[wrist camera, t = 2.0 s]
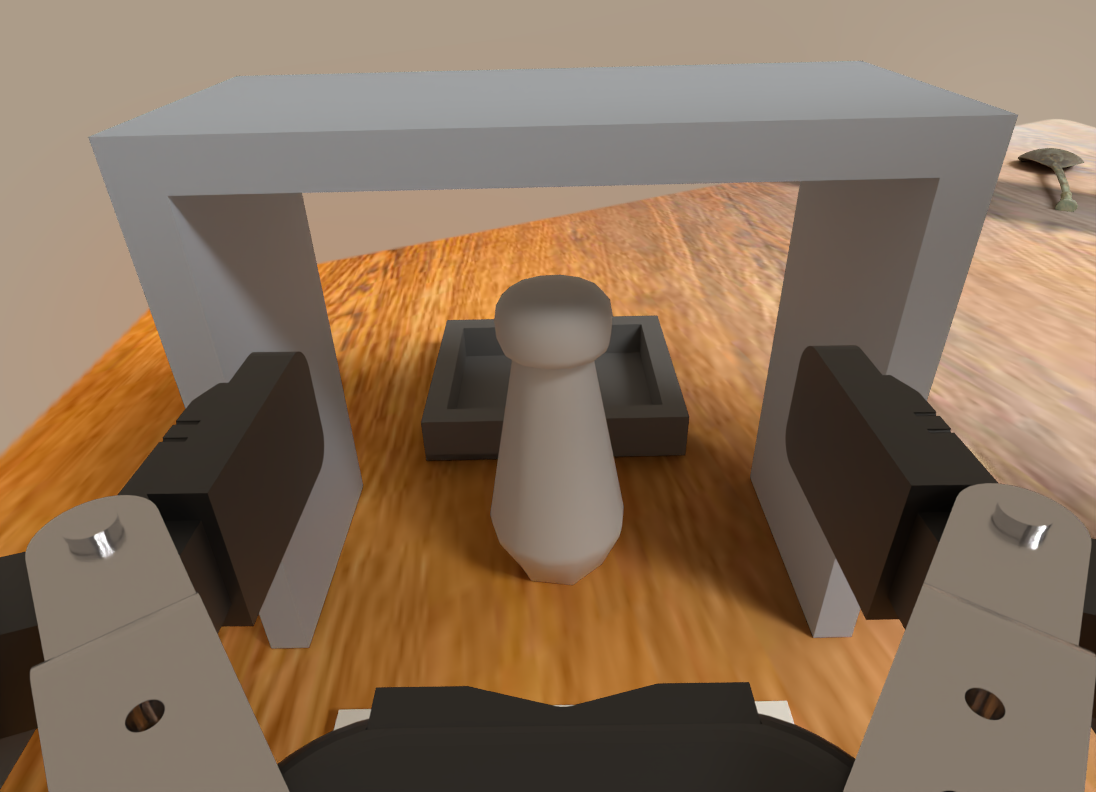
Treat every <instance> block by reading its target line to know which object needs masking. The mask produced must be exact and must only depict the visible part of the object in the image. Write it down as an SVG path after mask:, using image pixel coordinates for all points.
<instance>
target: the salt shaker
mask: <svg viewBox="0 0 1096 792" xmlns="http://www.w3.org/2000/svg"><path fill="white" fill-rule="evenodd" d="M612 317H613V315H612V309H611V303H610V299H609V298H608V297H607V296H606V294H605V293H604V292H603V291H602V290H601V289H600V288H599V287H598V286H597V285H596V284H594V283H592V282H590V281H587V280H585V279H582V278H579V277H573V276H565V275H546V276H537V277H533V278H529V279H524V280H521V281H520V282H518V283H516V284H514V285H513V286H511V287H509V288H508V289H507V290H506V291H505V292H504V293H503V294H502V295H501V297H500V299H499V301H498V303H497V304H496V310H495V318H494V324H495V332H496V338H497V340H498V342H499V344H500V346H501V348H502V350H503V352H504V354H505V356H506V357H508V358H510V359H511V360H512V364H511V371H510V378H509V385H508V392H507V400H506V407H505V414H504V421H503V428H502V435H501V442H500V449H499V456H498V463H497V470H496V477H495V484H494V491H493V498H492V505H491V512H490V516H491V519H492V523H493V526H494V528H495V531H496V534H497V537H498V540H499V543H500V544H501V545H502V546H503V548H504V549H505V550H506V551H507V552H508V553H509V554H510V555H511V556H512V557H513V558H514V559H515V561H516V562H517V563H518V564H519V565H520V566H521V567H522V568H523V570H524V571H525V572H526V574H527V575H528V577H529V578H530V579H531V581H538V582H548V583H557V584H566V585H574V584H575V583H576V582H578V581H579V580H581V579H582V578H583V577H585V576H586V575H587V574H589V573H590V572H592V571H593V570H594V569H596V568H597V567H598V566H600V565H601V564H602V563H603V562H604V560H605V558H606V557H607V555H608V554H609V552H610V550H611V549H612V547H613V546H614V544H615V543H616V541H617V539H618V538H619V536H620V532H621V528H622V520H623V509H624V506H623V501H622V496H621V491H620V486H619V481H618V476H617V471H616V466H615V461H614V456H613V451H612V447H611V442H610V437H609V432H608V427H607V422H606V417H605V412H604V407H603V402H602V397H601V392H600V387H599V382H598V377H597V373H596V368H595V362H594V360H596V359H597V358H598V357H599V356H601V355H602V354H603V353H605V352H606V351H607V348H608V346H609V342H610V336H611V329H612Z"/></svg>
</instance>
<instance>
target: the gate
mask: <svg viewBox="0 0 1096 792" xmlns="http://www.w3.org/2000/svg"><path fill="white" fill-rule="evenodd" d="M1017 117H1018V115H1017V114H1015V113H1011V112H1009V111H1006V110H1003V109H1000V108H997V107H994V106H991V105H988V104H985V103H982V102H980V101H977V100H974V99H971V98H968V97H965V96H962V95H959V94H956V93H953V92H950V91H948V90H945V89H942V88H939V87H936V86H933V85H930V84H927V83H924V82H922V81H918V80H916V79H913V78H910V77H907V76H904V75H901V74H898V73H895V72H892V71H890V70H887V69H884V68H881V67H878V66H875V65H872V64H869V63H866V62H863V61H840V62H799V63H759V64H718V65H676V66H636V67H597V68H596V67H594V68H557V69H555V68H554V69H515V70H513V69H512V70H472V71H432V72H431V71H430V72H389V73H353V74H352V73H351V74H349V73H348V74H307V75H269V76H267V75H266V76H236V77H233V78H231V79H229V80H226V81H224V82H221V83H219V84H216V85H214V86H211V87H209V88H207V89H204V90H202V91H199V92H197V93H194V94H192V95H190V96H187V97H185V98H182V99H180V100H177V101H175V102H173V103H170V104H168V105H165V106H163V107H161V108H158V109H155V110H153V111H151V112H148V113H146V114H143V115H141V116H138V117H136V118H134V119H131V120H129V121H126V122H124V123H122V124H119V125H117V126H114V127H112V128H109V129H107V130H104V131H102V132H100V133H97V134H95V135H92V136H90V137H88V138H89V140H90V143H91V146H92V149H93V152H94V154H95V157H96V160H97V163H98V166H99V168H100V171H101V174H102V177H103V180H104V182H105V185H106V188H107V191H108V194H109V196H110V199H111V202H112V205H113V207H114V210H115V213H116V216H117V219H118V221H119V224H120V227H121V230H122V232H123V235H124V238H125V241H126V244H127V247H128V249H129V252H130V255H131V258H132V261H133V263H134V266H135V269H136V272H137V275H138V277H139V280H140V283H141V286H142V288H143V291H144V294H145V297H146V299H147V302H148V305H149V308H150V311H151V314H152V316H153V319H154V322H155V325H156V328H157V330H158V333H159V336H160V339H161V342H162V344H163V347H164V350H165V353H166V356H167V358H168V361H169V364H170V367H171V369H172V372H173V375H174V378H175V381H176V383H177V386H178V389H179V392H180V395H181V397H182V400H183V403H184V406H185V409H186V408H187V406H188V405H189V404H190V403H191V401H192V400H194V399H195V398H197V397H198V396H200V395H201V394H203V393H204V392H206V391H207V390H209V389H210V388H212V387H214V386H215V385H217V384H218V383H229V381H230V380H231V379H232V377H233V376H234V375H235V373H236V372H237V371H238V369H239V368H240V367H241V365H242V364H243V362H244V361H245V360H246V358H247V357H248V356H249V355H250V354H251V353H252V352H297V351H299V352H302V353H303V354H304V356H305V357H306V359H307V362H308V365H309V369H310V374H311V379H312V383H313V388H314V392H315V397H316V401H317V406H318V410H319V415H320V420H321V424H322V429H323V434H324V458H323V464H322V468H321V470H320V473H319V475H318V478H317V480H316V482H315V484H314V487H313V489H312V491H311V494H310V496H309V498H308V501H307V503H306V505H305V508H304V510H303V512H302V515H301V517H300V519H299V522H298V524H297V526H296V529H295V531H294V533H293V536H292V538H291V540H290V542H289V545H288V547H287V549H286V552H285V554H284V556H283V559H282V561H281V563H280V566H279V568H278V570H277V573H276V575H275V577H274V580H273V582H272V584H271V587H270V589H269V591H268V594H267V596H266V598H265V601H264V603H263V605H262V607H261V610H260V612H259V615H260V618H261V621H262V624H263V626H264V629H265V632H266V635H267V638H268V640H269V643H270V646H271V648H309V646H310V643H311V640H312V637H313V634H314V631H315V628H316V625H317V622H318V619H319V616H320V613H321V610H322V607H323V604H324V601H325V598H326V595H327V592H328V589H329V587H330V584H331V581H332V578H333V575H334V572H335V569H336V566H337V563H338V560H339V557H340V554H341V551H342V548H343V545H344V542H345V539H346V536H347V533H348V530H349V527H350V524H351V521H352V518H353V515H354V512H355V509H356V506H357V503H358V500H359V497H360V494H361V491H362V488H363V482H362V477H361V473H360V468H359V463H358V458H357V453H356V449H355V444H354V439H353V434H352V430H351V425H350V420H349V415H348V411H347V406H346V401H345V396H344V392H343V387H342V382H341V377H340V372H339V368H338V363H337V358H336V353H335V349H334V344H333V339H332V334H331V330H330V325H329V320H328V315H327V311H326V306H325V301H324V296H323V291H322V287H321V282H320V277H319V272H318V268H317V263H316V258H315V254H314V249H313V244H312V239H311V234H310V230H309V226H308V220H307V215H306V211H305V206H304V201H303V196H302V193H311V192H352V191H354V192H355V191H395V190H396V191H397V190H440V189H480V188H481V189H483V188H523V187H524V188H525V187H565V186H607V185H609V186H611V185H650V184H651V185H652V184H694V183H695V184H696V183H738V182H781V181H800V187H799V193H798V199H797V205H796V211H795V217H794V223H793V228H792V234H791V240H790V246H789V252H788V258H787V264H786V269H785V275H784V281H783V287H782V293H781V299H780V305H779V311H778V316H777V322H776V328H775V334H774V340H773V346H772V352H771V357H770V363H769V369H768V375H767V381H766V387H765V393H764V398H763V404H762V410H761V416H760V422H759V428H758V434H757V440H756V445H755V451H754V457H753V463H752V469H751V475H750V478H751V481H752V483H753V486H754V489H755V491H756V494H757V496H758V499H759V501H760V504H761V506H762V509H763V511H764V514H765V516H766V519H767V521H768V524H769V526H770V529H771V532H772V534H773V537H774V539H775V542H776V544H777V547H778V549H779V552H780V554H781V557H782V559H783V562H784V564H785V567H786V569H787V572H788V574H789V577H790V580H791V582H792V585H793V587H794V590H795V592H796V595H797V597H798V600H799V602H800V605H801V607H802V610H803V612H804V615H805V617H806V620H807V623H808V625H809V628H810V630H811V633H812V635H813V638H815V637H851V636H852V633H853V630H854V627H855V624H856V621H857V618H858V615H859V611H860V606H859V604H858V602H857V600H856V598H855V596H854V594H853V592H852V590H851V588H850V586H849V584H848V582H847V580H846V578H845V576H844V574H843V572H842V570H841V568H840V566H839V564H838V562H837V560H836V558H835V555H834V553H833V551H832V549H831V547H830V545H829V543H828V541H827V539H826V537H825V535H824V533H823V531H822V529H821V527H820V525H819V523H818V521H817V519H816V517H815V515H814V513H813V511H812V509H811V507H810V505H809V503H808V501H807V499H806V497H805V495H804V492H803V490H802V488H801V486H800V484H799V482H798V480H797V478H796V476H795V474H794V472H793V470H792V468H791V466H790V464H789V461H788V457H787V452H786V443H785V435H786V426H787V421H788V416H789V411H790V406H791V401H792V396H793V391H794V386H795V382H796V377H797V372H798V367H799V362H800V358H801V355H802V353H803V351H804V349H805V348H806V347H807V346H829V345H856V346H858V347H860V348H861V349H862V351H863V352H864V353H865V354H866V356H867V357H868V358H869V359H870V360H871V362H872V363H873V364H874V365H875V367H876V368H877V369H878V370H879V371H880V373H881V374H882V375H892V376H893V377H895V378H896V379H898V380H900V381H901V382H903V383H905V384H906V385H908V386H910V387H911V388H913V389H915V390H916V391H918V392H919V393H920V394H921V395H922V396H923V397H924V399H925V400H926V401H927V399H928V396H929V392H930V389H931V386H932V383H933V380H934V377H935V374H936V371H937V367H938V364H939V361H940V358H941V355H942V352H943V349H944V345H945V342H946V339H947V336H948V333H949V330H950V327H951V324H952V320H953V317H954V314H955V311H956V308H957V305H958V302H959V299H960V295H961V292H962V289H963V286H964V283H965V280H966V277H967V274H968V270H969V267H970V264H971V261H972V258H973V255H974V252H975V248H976V245H977V242H978V239H979V236H980V233H981V230H982V227H983V223H984V220H985V217H986V214H987V211H988V208H989V205H990V202H991V198H992V195H993V192H994V189H995V186H996V183H997V180H998V177H999V173H1000V170H1001V167H1002V164H1003V161H1004V158H1005V155H1006V151H1007V148H1008V145H1009V142H1010V139H1011V136H1012V133H1013V130H1014V126H1015V123H1016V120H1017Z"/></svg>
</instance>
